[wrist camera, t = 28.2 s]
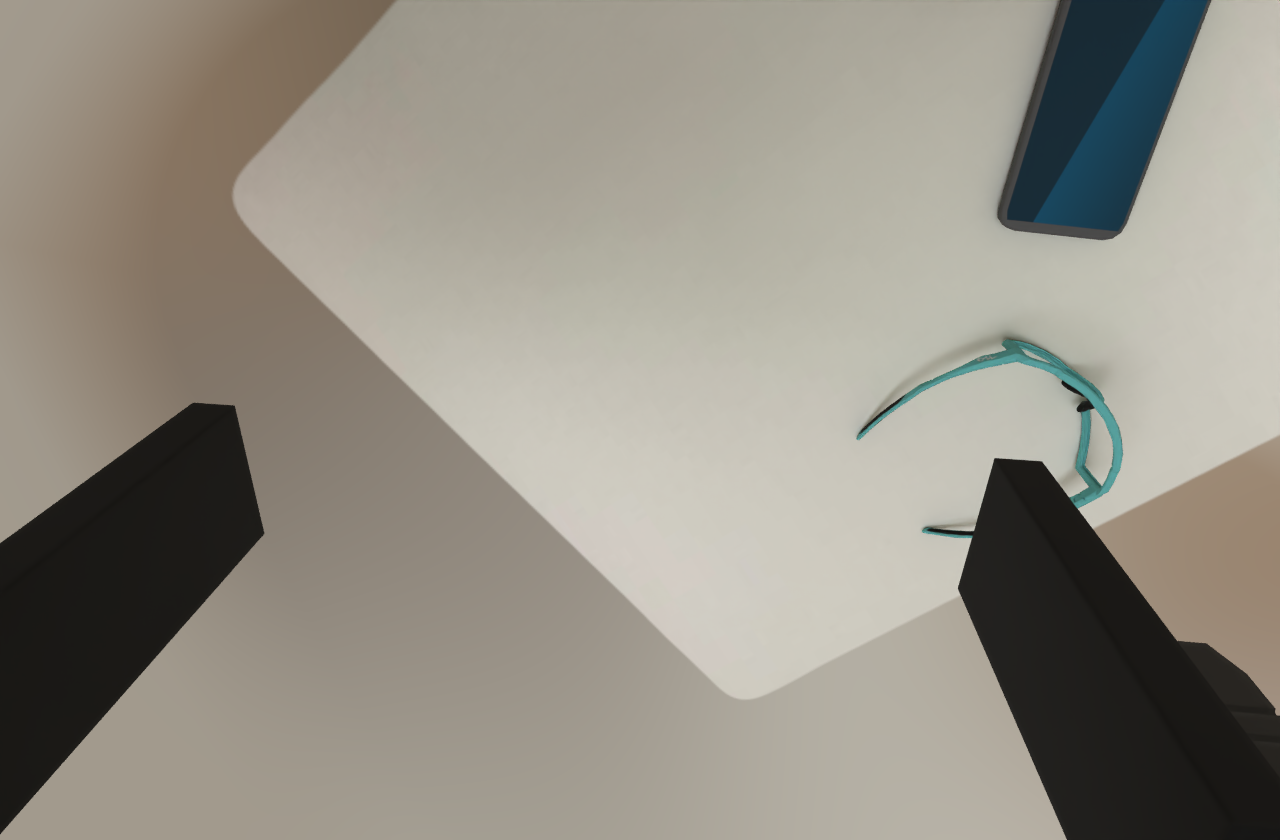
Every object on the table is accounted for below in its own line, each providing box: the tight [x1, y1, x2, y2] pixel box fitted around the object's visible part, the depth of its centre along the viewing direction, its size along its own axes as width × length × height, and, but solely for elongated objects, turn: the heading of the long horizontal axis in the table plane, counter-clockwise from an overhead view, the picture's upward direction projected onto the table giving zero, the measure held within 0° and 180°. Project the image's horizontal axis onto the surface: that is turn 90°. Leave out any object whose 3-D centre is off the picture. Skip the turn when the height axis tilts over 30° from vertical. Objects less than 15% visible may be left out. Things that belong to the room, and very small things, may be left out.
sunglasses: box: [857, 339, 1123, 538], centre depth 53 cm, size 14×15×5 cm
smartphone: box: [998, 0, 1211, 240], centre depth 44 cm, size 8×15×1 cm, turn 175°
